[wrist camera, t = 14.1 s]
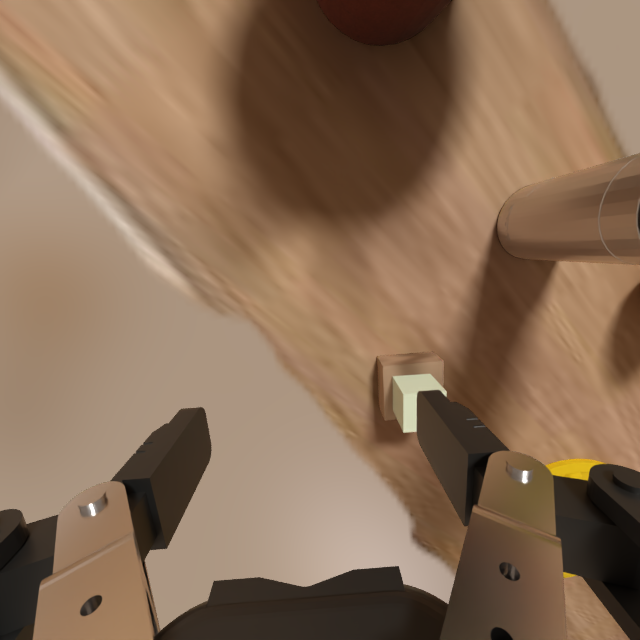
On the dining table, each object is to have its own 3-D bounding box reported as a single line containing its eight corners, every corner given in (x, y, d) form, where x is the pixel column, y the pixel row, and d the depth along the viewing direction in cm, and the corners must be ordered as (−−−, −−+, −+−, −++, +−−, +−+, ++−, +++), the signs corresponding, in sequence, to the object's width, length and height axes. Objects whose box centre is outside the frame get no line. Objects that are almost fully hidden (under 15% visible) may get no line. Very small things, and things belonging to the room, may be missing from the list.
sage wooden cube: (430, 373, 39) (446, 391, 34) (429, 407, 40) (445, 429, 35) (392, 376, 39) (403, 394, 34) (392, 410, 40) (403, 432, 35)
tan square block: (432, 350, 43) (443, 361, 39) (431, 401, 44) (442, 415, 41) (376, 355, 43) (382, 366, 39) (378, 405, 44) (384, 420, 41)
